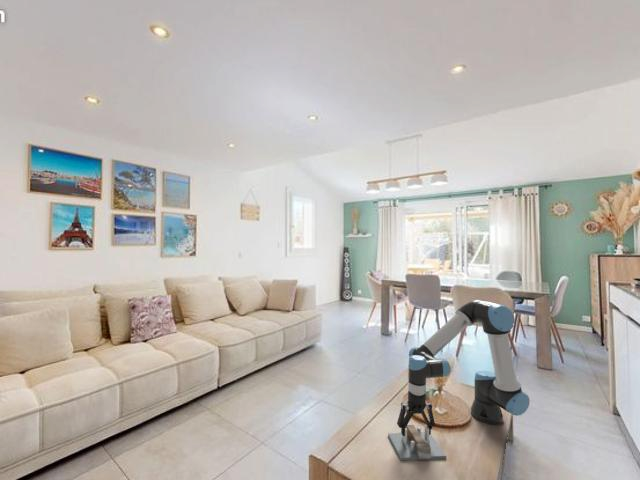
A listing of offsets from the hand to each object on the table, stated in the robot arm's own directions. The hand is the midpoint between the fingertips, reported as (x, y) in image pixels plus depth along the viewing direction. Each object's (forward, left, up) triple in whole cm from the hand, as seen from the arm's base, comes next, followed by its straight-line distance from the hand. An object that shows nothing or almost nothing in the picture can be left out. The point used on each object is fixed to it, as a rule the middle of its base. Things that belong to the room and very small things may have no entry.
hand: (415, 441), depth 131 cm
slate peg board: (0, 0, -2) cm, 2 cm away
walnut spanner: (0, +1, -1) cm, 2 cm away
